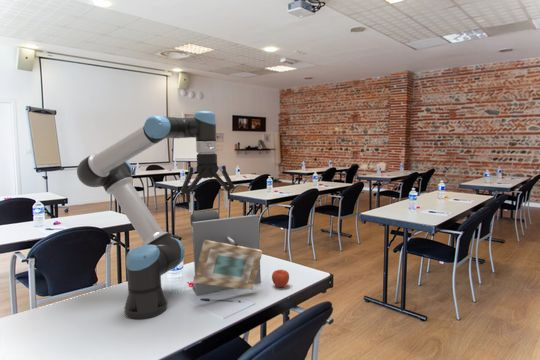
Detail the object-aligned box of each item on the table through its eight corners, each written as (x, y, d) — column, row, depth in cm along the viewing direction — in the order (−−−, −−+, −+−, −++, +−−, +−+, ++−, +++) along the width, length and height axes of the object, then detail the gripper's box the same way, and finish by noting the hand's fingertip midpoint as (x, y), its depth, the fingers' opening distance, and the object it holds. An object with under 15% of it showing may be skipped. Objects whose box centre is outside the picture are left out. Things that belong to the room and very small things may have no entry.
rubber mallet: (197, 279, 167) (194, 214, 163) (192, 274, 173) (189, 211, 170) (222, 273, 173) (220, 211, 169) (217, 268, 179) (214, 208, 176)
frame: (195, 283, 137) (207, 237, 137) (193, 280, 140) (205, 235, 140) (252, 290, 147) (264, 248, 147) (249, 287, 150) (260, 245, 150)
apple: (285, 282, 160) (285, 264, 159) (292, 288, 153) (291, 270, 152) (270, 284, 158) (269, 266, 157) (275, 291, 151) (274, 272, 150)
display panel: (201, 302, 142) (197, 226, 139) (192, 288, 156) (189, 219, 153) (267, 288, 153) (264, 218, 150) (253, 276, 167) (251, 212, 164)
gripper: (175, 154, 128) (178, 214, 130) (241, 152, 139) (243, 207, 141) (170, 154, 135) (173, 210, 137) (234, 151, 145) (236, 204, 148)
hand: (209, 209), depth 139 cm, fingers open, 13 cm apart
